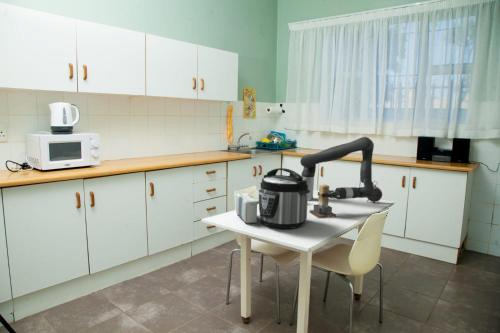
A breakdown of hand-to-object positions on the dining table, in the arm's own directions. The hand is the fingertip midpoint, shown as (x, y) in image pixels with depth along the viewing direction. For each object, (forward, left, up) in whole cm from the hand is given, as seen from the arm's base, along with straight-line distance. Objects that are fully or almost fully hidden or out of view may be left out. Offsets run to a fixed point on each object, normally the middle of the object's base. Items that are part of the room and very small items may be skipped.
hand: (320, 194), depth 221 cm
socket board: (+2, +2, -13) cm, 13 cm away
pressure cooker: (-16, -27, -13) cm, 34 cm away
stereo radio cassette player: (-37, -29, -13) cm, 49 cm away
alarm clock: (+29, +50, -13) cm, 60 cm away
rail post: (+2, +2, -8) cm, 9 cm away
